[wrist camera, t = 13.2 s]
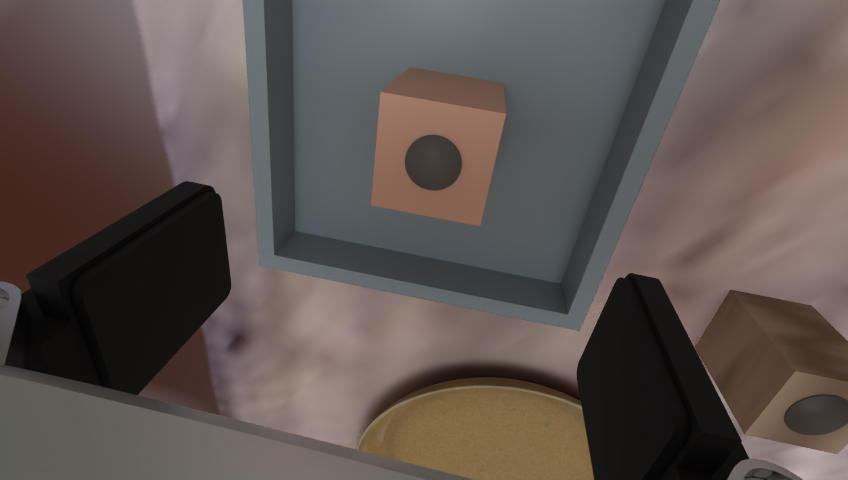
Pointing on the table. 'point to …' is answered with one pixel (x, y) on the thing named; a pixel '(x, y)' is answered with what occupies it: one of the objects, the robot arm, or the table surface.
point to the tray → (517, 153)
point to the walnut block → (780, 370)
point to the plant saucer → (485, 431)
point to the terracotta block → (437, 144)
